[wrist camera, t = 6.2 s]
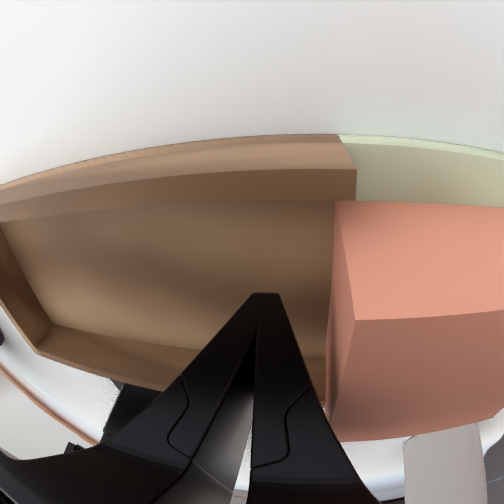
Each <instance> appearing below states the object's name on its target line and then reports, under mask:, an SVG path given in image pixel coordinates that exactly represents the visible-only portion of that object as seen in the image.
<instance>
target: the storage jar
mask: <svg viewBox="0 0 504 504" xmlns="http://www.w3.org/2000/svg"><path fill="white" fill-rule="evenodd" d="M3 342H4V336H3V333H2V331H1V329H0V346H1V345H2V343H3Z"/></svg>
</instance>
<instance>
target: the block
mask: <svg viewBox="0 0 504 504" xmlns="http://www.w3.org/2000/svg"><path fill="white" fill-rule="evenodd" d="M503 407H504V208H499V207H486V206H472V205H457V204H438V203H415V202H380V201H335V222H334V247H333V266H332V281H331V294H330V306H329V317H328V327H327V336H326V407H325V415H326V417H327V419H328V421H329V423H330V425H331V427H332V429H333V431H334V433H335V435H336V437H337V439H338V440H339V442H353V441H369V440H380V439H390V438H399V437H406V436H413V435H419V434H425V433H431V432H436V431H441V430H446V429H451V428H455V427H460V426H464V425H468V424H472V423H475V422H479V421H483V420H486V419H489V418H493V417H494V416H495V415H496V414H497V413H498V412H499V411H500V410H501V409H502V408H503Z"/></svg>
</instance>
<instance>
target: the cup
mask: <svg viewBox="0 0 504 504" xmlns="http://www.w3.org/2000/svg"><path fill="white" fill-rule="evenodd" d="M404 471H405V504H487V490H486V477H485V468H484V460H483V453H482V446H481V440H480V434H479V429H478V426H477V423H476V422H475V423H472V424H468V425H464V426H460V427H455V428H451V429H446V430H441V431H436V432H431V433H425V434H419V435H415V436H413V437H411V438H410V439H409V440H408V441H407V443H406V445H405V447H404Z"/></svg>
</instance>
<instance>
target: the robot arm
mask: <svg viewBox="0 0 504 504" xmlns="http://www.w3.org/2000/svg"><path fill="white" fill-rule="evenodd" d="M111 381H112V382H113V383H114V384H115V385H116V387H117V388H118V389H119V390H120V392H119V394H118V396H117V399H116V401H115V403H114V405H113V408H112V410H111V412H110V414H109V417H108V419H107V421H106V424H105V426H104V428H103V432H104V433H103V436H102V438H101V440H100V443H99V444H97V445H95V446H93V447H90V448H87V449H85V448H84V447H82V446H80V445H78V444H77V445H74V444H72V443H70V442H69V443H68V445H67V447H66V450H65V452H64V454H59V455H54V456H48V457H43V458H37V459H30V460H20V459H18V458H16V457H15V456H13V455H12V454H10V453H8V452H7V451H5V450H4V449H2V448H0V504H230V501H231V497H232V494H233V493H232V492H233V490H234V487H235V483H236V480H237V476H238V473H239V469H240V465H241V462H242V458H243V454H244V451H245V447H246V443H247V439H248V435H249V432H250V428H251V424H252V442H251V463H250V468H251V470H250V481H249V490H248V497H247V502H246V504H381V503H380V502H379V501H378V500H377V499H376V498H375V496H374V495H373V494H372V493H371V492H370V491H369V490H368V488H367V487H366V486H365V484H364V483H363V482H362V480H361V479H360V477H359V475H358V474H357V472H356V471H355V469H354V467H353V465H352V464H351V462H350V460H349V458H348V456H347V455H346V453H345V451H344V449H343V448H342V446H341V444H340V442H339V440H338V439H337V437H336V435H335V433H334V431H333V429H332V427H331V425H330V423H329V421H328V419H327V417H326V415H325V413H324V411H323V408H322V406H321V403H320V401H319V398H318V396H317V393H316V390H315V388H314V386H313V383H312V380H311V377H310V374H309V372H308V369H307V366H306V364H305V361H304V358H303V356H302V353H301V350H300V347H299V345H298V342H297V339H296V337H295V334H294V331H293V329H292V326H291V323H290V321H289V318H288V315H287V313H286V310H285V307H284V305H283V302H282V299H281V297H280V294H279V293H262V292H254V293H252V294H251V295H250V296H249V297H248V299H247V300H246V301H245V302H244V303H243V304H242V305H241V307H240V308H239V309H238V310H237V311H236V312H235V313H234V315H233V316H232V317H231V318H230V319H229V320H228V321H227V322H226V324H225V325H224V326H223V327H222V328H221V329H220V330H219V331H218V333H217V334H216V335H215V336H214V337H213V338H212V339H211V340H210V341H209V343H208V344H207V345H206V346H205V347H204V348H203V349H202V350H201V351H200V353H199V354H198V355H197V356H196V357H195V358H194V359H193V360H192V361H191V362H190V364H189V365H188V366H187V367H186V368H185V369H184V370H183V371H182V372H181V375H178V376H177V378H176V379H175V380H174V381H173V382H172V383H171V384H170V385H169V386H168V387H167V388H166V389H165V390H164V391H163V392H162V391H158V390H153V389H148V388H144V387H140V386H136V385H132V384H128V383H124V382H120V381H116V380H113V379H111Z"/></svg>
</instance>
